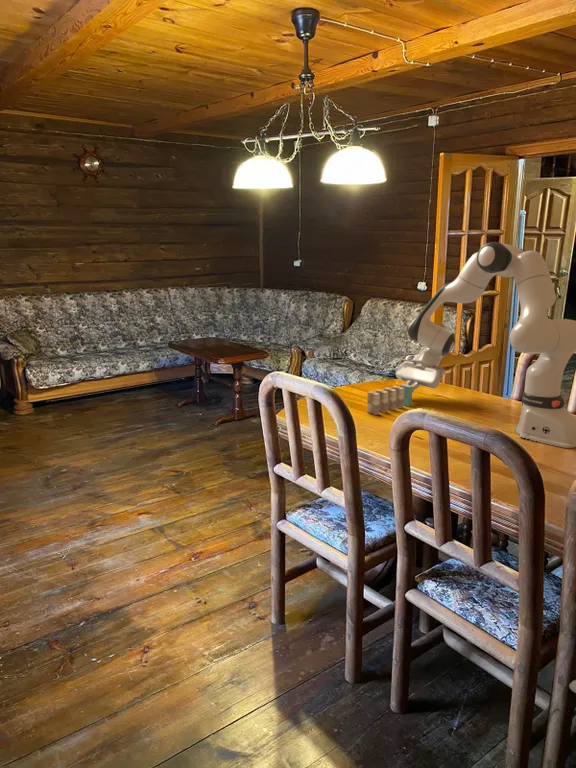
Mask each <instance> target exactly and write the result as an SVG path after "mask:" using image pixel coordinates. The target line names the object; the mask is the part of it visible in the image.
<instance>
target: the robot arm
mask: <svg viewBox="0 0 576 768" xmlns="http://www.w3.org/2000/svg"><path fill="white" fill-rule="evenodd" d="M495 276H499V277H502V278H509V279H514V282H515V286H516V287H515V288H516V290H517V295H518V299H519V305H520V313H519V319H518V321H517V322H516V323H515V325H514V326H513V327H512V328H511V330H510V334H509V341H510V345H511V347H512V348H513V350H514V351H516V352H518V353H522V354H529V355H538V354H539V357H538V358H537V359H536V361H534V363H532V364H531V365H529V366H528V368H527V369H526V373H525V381H524V390H523V392H522V396H521V397H522V399H521V407H522V408H521V412H520V416H519V419H518V420H519V421H518V423H517V426H516V427H515V430H516V431H515V432H516V434H518V435H519V434H520V435H519V438H520V437H522V438H526V439H525V440H527V439H530V440H529V441H532V440H533V441H532V442H536V441H537V442H536V443H541V444H545V445H550V446H554V447H560V448H565V449H567V448H568V449H569V448H570V449H572V448H576V417H575V416H574V415H573V414H572V413H571V412H570V411H568V409H567V408H566V407H565V403H567V402H568V401H567V399H568V398H563V396H562V394H561V387H562V382H563V375H564V371H565V368H566V367H567V364H568V363H569V361H570V359H571V357H572V356H573V355H574V353H575V352H576V320H573V319H569V318H557V319H555V318H554V319H549V317H548V310H549V309H551V307H553V305H555V302H556V299H557V295H556V292H555V288H554V284H553V281H552V277H551V273H550V270H549V268H548V266H547V263H546V261H545V259H544V257H543V255H542V254H541V253H540V252H539V251H537V250H527V251H526V250H525V249H524V248H519V247H518V246H517V247H516V246H514V245H511V244H508V243H501V242H498V241H491V242H487V243H485V244H483V245H482V246H481V247H480V248H479V250H478V251H477V252H475V253H473V254H472V255H471V256H470V257H469V258H468V260H467V261H466V262H465V264H464V265H463V267H462V268H461V270H460V272H459V274H458V275H457V277H456V278H455V279H454V280H453V281H451V282H450V283H445V284H443V285H442V286H441V287H440V288H439V289H438V290H437V291H436V293H435V294H434V295H433V296H432V298H431V299H430V300H429V301H428V302H427V304H426V305H425V307H424V308H423V309H422V310H421V312H420V313H419V314H418V315H417V316H416V317H415V318H414V319H413V320H412V321H411V323H409V326H408V329H407V333H408V336H409V338H410V340H412V341H414V342H416V343H418V344H421V345H423V346H424V348H423V349H422V350H421V351H420V353H416V354H412V355H407V356H406V357H405V361H403V362H402V363H401V364H400V365H399V367H398V368H397V369H396V371H395V377H396V378H397V379H398V380H399V381H403V382H406V385H409V386H412V394H413V393H414V391H415V390H417V389H418V388H420V386H421V387H426V388H429V389H436V388H438V386H439V384H440V382H441V381H442V379H443V376H444V374H445V373H446V370H445V368H444V367H442V366H439V365H440V363H441V360H442V359H443V358H444V357H446V356H447V355H449V353H450V352H451V350H452V349H453V347H454V346H455V344H456V338H455V334H454V333H453V332H452V331H450V330H448V329H447V328H445V327H443V326H441V325H439V324H437V323H436V322H433V321H432V320H431V317H432V315H433V314H434V313H435V311H437V310H438V308H439V307H440V306H441V304H443V303H448V302H449V303H457V304H470V303H473V302H476V301H477V300H479V299H480V297H481V296H482V295H483V294H484V292H485V290H486V288H487V287H488V285H489V282H490V281H491V280H492V278H494V277H495ZM522 438H521V439H522Z"/></svg>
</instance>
